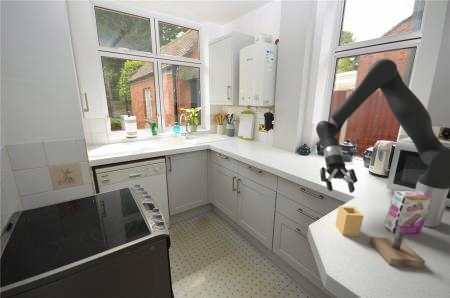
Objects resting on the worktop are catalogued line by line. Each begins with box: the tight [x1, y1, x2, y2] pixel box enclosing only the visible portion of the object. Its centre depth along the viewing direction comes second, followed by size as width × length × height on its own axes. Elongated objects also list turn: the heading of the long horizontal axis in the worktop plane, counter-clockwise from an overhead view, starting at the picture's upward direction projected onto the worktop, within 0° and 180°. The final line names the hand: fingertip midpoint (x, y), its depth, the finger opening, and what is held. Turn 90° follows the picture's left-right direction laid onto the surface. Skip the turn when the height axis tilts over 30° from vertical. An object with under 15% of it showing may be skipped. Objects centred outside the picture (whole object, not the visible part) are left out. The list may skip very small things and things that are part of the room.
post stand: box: [368, 229, 426, 269], centre depth 65 cm, size 10×10×10 cm
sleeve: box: [334, 205, 364, 237], centre depth 76 cm, size 6×6×9 cm
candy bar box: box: [383, 190, 433, 235], centre depth 77 cm, size 11×5×16 cm, turn 92°
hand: (341, 191), depth 83 cm, fingers open, 8 cm apart
